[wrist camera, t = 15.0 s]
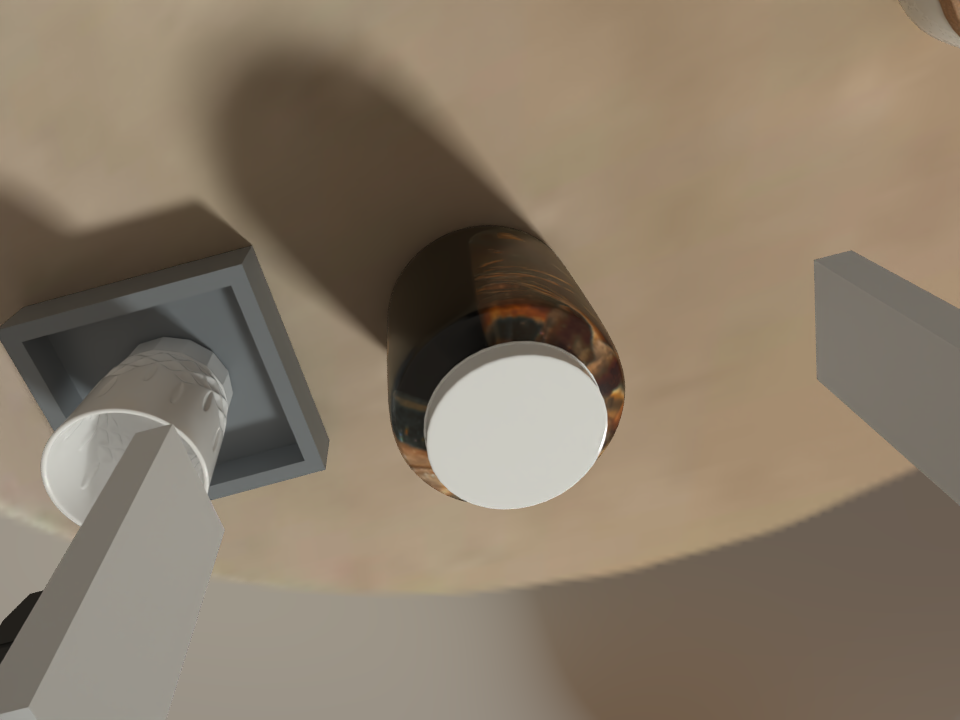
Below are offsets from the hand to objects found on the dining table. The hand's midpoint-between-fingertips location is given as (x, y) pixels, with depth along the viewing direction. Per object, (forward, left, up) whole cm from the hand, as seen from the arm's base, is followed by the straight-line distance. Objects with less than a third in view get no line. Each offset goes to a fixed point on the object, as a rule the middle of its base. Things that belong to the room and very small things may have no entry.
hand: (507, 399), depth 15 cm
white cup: (+10, -19, -30) cm, 37 cm away
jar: (+11, 0, -31) cm, 33 cm away
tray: (+10, -19, -31) cm, 37 cm away
